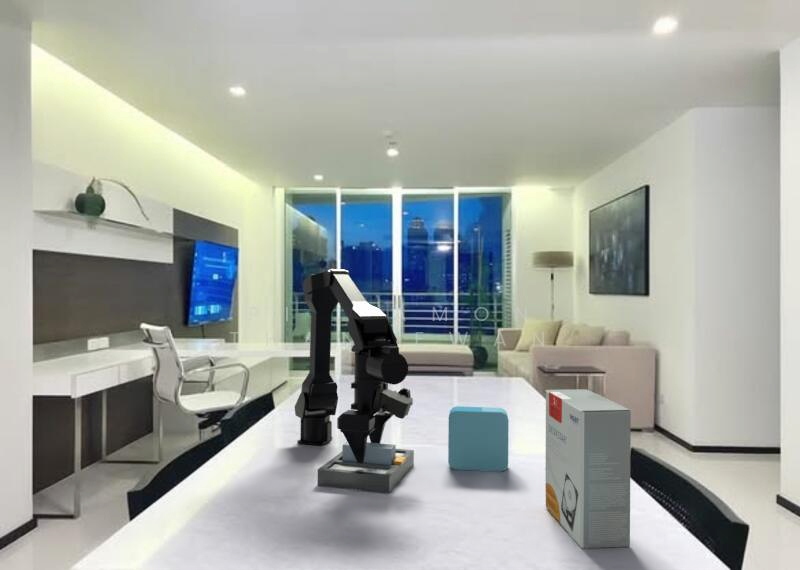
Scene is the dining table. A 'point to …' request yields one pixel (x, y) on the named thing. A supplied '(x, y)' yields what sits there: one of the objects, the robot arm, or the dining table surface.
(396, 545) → the dining table surface
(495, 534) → the dining table surface
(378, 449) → the block
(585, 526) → the hard drive box
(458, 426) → the data package
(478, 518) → the dining table surface
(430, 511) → the dining table surface
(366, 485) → the frame
